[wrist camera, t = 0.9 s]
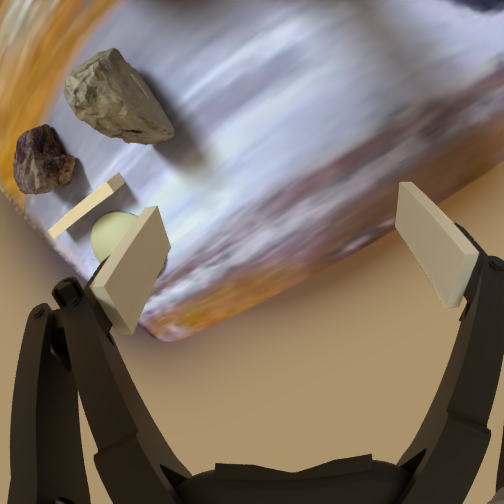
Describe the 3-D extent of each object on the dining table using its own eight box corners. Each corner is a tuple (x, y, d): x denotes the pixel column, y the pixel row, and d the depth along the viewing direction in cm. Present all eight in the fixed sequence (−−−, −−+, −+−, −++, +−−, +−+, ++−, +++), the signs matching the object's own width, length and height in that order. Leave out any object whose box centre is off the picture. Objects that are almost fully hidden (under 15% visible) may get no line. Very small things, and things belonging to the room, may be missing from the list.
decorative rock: (98, 67, 30) (30, 75, 18) (132, 39, 28) (69, 31, 16) (151, 151, 38) (101, 190, 26) (188, 127, 36) (147, 156, 24)
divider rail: (59, 220, 45) (47, 230, 42) (118, 172, 40) (106, 181, 37) (65, 228, 46) (54, 239, 43) (125, 182, 41) (113, 192, 38)
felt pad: (79, 232, 47) (77, 234, 46) (131, 196, 42) (130, 197, 42) (125, 289, 54) (124, 291, 53) (181, 265, 50) (180, 267, 49)
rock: (60, 116, 35) (30, 147, 38) (26, 120, 28) (-2, 157, 30) (85, 173, 39) (53, 200, 42) (52, 186, 32) (22, 216, 34)
